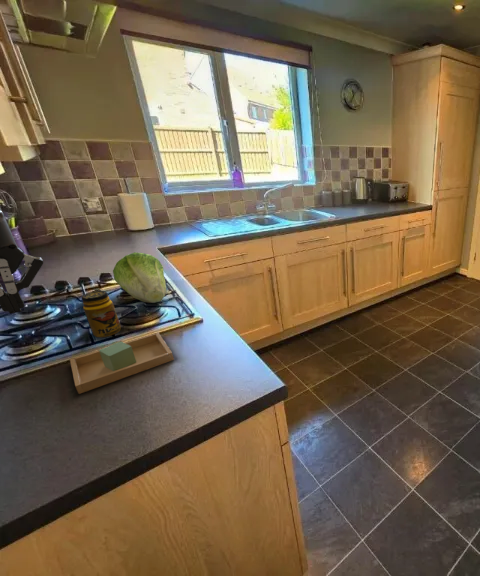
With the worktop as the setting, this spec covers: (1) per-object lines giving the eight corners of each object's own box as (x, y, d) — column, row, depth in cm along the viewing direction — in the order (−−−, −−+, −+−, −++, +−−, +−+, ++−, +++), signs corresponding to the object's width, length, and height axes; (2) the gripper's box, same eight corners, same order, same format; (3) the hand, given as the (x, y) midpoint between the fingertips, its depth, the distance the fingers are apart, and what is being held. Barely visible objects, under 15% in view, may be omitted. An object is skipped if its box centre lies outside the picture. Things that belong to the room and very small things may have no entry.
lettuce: (184, 307, 111) (133, 324, 103) (164, 276, 126) (118, 288, 117) (172, 272, 103) (116, 287, 95) (153, 243, 118) (103, 253, 109)
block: (115, 372, 74) (109, 356, 73) (104, 366, 76) (98, 350, 75) (136, 362, 78) (131, 346, 76) (126, 356, 80) (120, 341, 78)
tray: (79, 396, 68) (75, 386, 67) (73, 368, 76) (69, 359, 75) (174, 361, 80) (172, 352, 79) (160, 340, 88) (158, 332, 87)
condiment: (115, 339, 88) (101, 299, 83) (78, 342, 86) (62, 301, 81) (128, 325, 94) (116, 287, 89) (95, 328, 92) (80, 289, 88)
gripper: (26, 212, 62) (60, 295, 69) (-90, 221, 53) (-38, 315, 60) (29, 218, 57) (64, 307, 64) (-98, 230, 48) (-41, 331, 55)
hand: (15, 311), depth 62 cm, fingers closed
